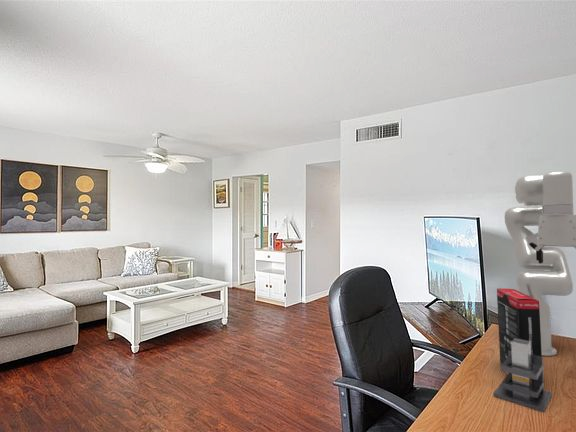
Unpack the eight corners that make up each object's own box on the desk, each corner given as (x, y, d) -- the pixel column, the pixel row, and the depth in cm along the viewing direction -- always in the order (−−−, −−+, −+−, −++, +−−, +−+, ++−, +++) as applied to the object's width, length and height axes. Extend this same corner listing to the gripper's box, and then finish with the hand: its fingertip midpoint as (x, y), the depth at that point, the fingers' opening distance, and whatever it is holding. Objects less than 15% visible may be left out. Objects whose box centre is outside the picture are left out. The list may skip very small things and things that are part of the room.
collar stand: (504, 382, 107) (503, 347, 107) (551, 395, 98) (550, 358, 98) (493, 396, 98) (492, 358, 99) (544, 412, 90) (542, 371, 90)
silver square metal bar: (516, 387, 101) (514, 338, 101) (532, 392, 98) (530, 341, 98) (512, 392, 98) (510, 341, 99) (529, 397, 95) (527, 345, 96)
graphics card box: (545, 386, 103) (542, 298, 104) (520, 385, 105) (517, 298, 105) (518, 363, 120) (516, 288, 121) (497, 362, 121) (495, 287, 122)
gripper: (522, 211, 110) (524, 263, 110) (593, 209, 97) (595, 268, 97) (528, 211, 115) (529, 260, 115) (595, 209, 103) (597, 265, 102)
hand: (559, 264), depth 106 cm, fingers open, 9 cm apart
